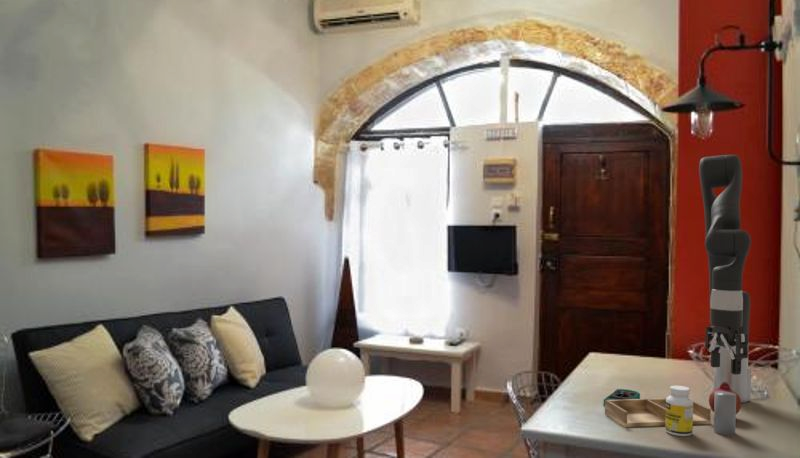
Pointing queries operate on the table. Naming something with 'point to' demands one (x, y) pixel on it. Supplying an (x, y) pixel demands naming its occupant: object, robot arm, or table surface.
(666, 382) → the table surface
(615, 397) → the digital multimeter
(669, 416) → the pill bottle
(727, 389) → the fruit
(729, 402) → the grey cylinder
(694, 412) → the divided wooden tray
